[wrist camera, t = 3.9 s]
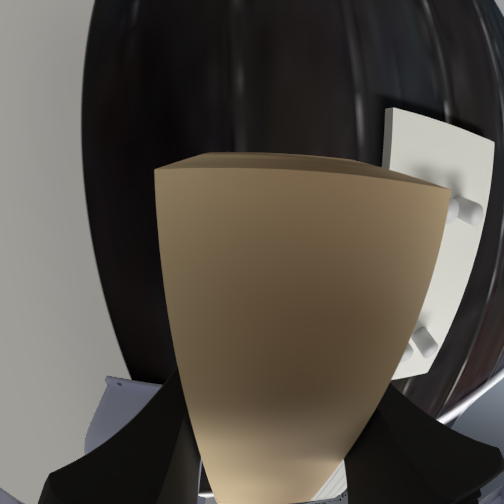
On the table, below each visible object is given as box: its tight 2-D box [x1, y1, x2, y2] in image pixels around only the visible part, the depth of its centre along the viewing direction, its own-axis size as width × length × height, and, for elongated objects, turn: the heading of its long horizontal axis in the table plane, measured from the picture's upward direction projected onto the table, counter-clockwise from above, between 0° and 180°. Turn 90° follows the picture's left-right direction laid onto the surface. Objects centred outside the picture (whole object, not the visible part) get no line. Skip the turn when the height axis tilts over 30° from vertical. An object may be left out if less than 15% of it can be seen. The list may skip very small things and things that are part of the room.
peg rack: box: [382, 108, 494, 380], centre depth 15 cm, size 9×20×3 cm, turn 179°
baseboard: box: [310, 459, 347, 501], centre depth 29 cm, size 30×3×10 cm
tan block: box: [154, 152, 451, 504], centre depth 8 cm, size 4×14×5 cm, turn 178°
